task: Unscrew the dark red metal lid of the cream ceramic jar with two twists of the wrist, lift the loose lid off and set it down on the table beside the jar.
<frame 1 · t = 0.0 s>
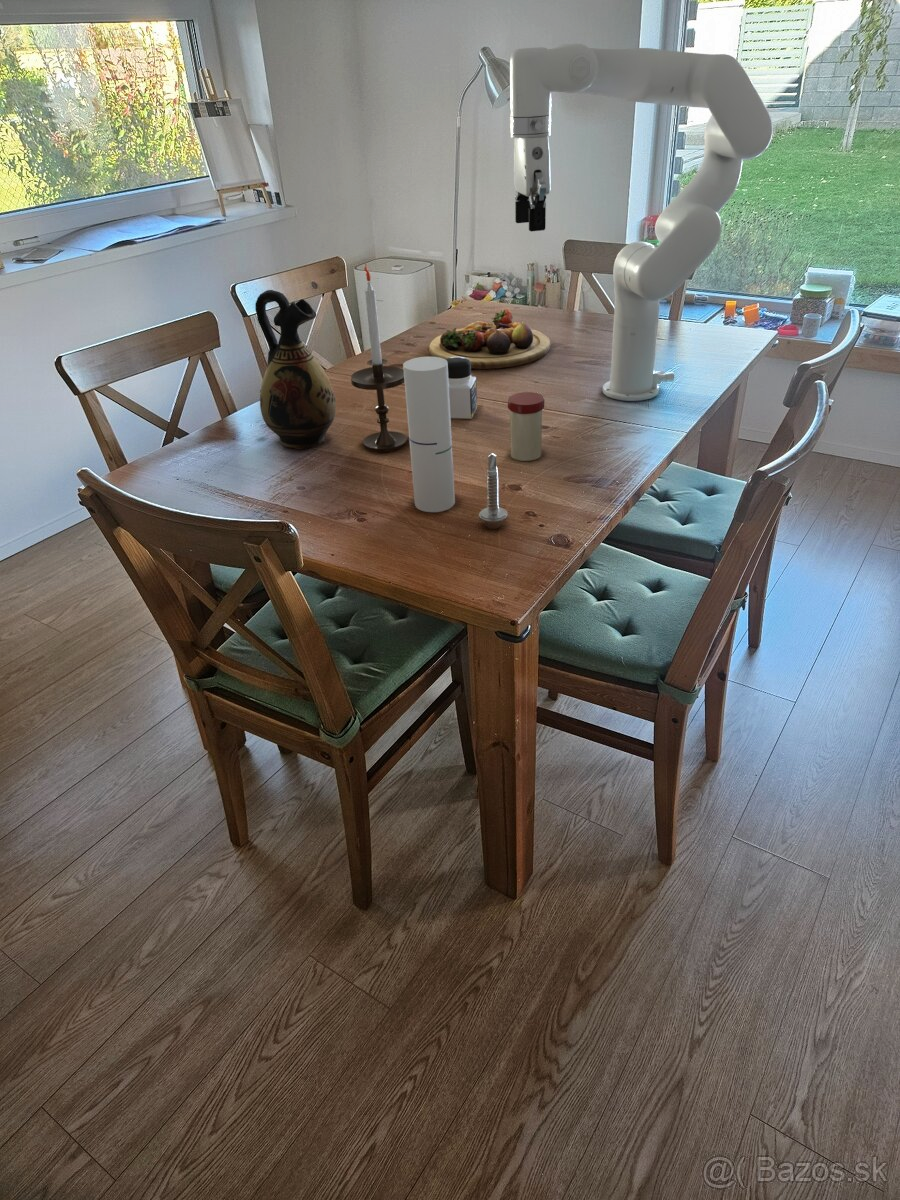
hand: (530, 226, 162), 37 cm above the table, tool pointing down, fingers open, 9 cm apart
candlestick: (385, 444, 168), on the table
jar: (525, 454, 160), on the table
wooden plate: (489, 351, 217), on the table
ceramic jug: (300, 440, 173), on the table
lid: (526, 400, 154), point 11 cm above the table, screwed on, not yet turned
screw: (493, 526, 137), on the table
medicine bottle: (458, 413, 181), on the table
cylindrical container: (434, 503, 145), on the table
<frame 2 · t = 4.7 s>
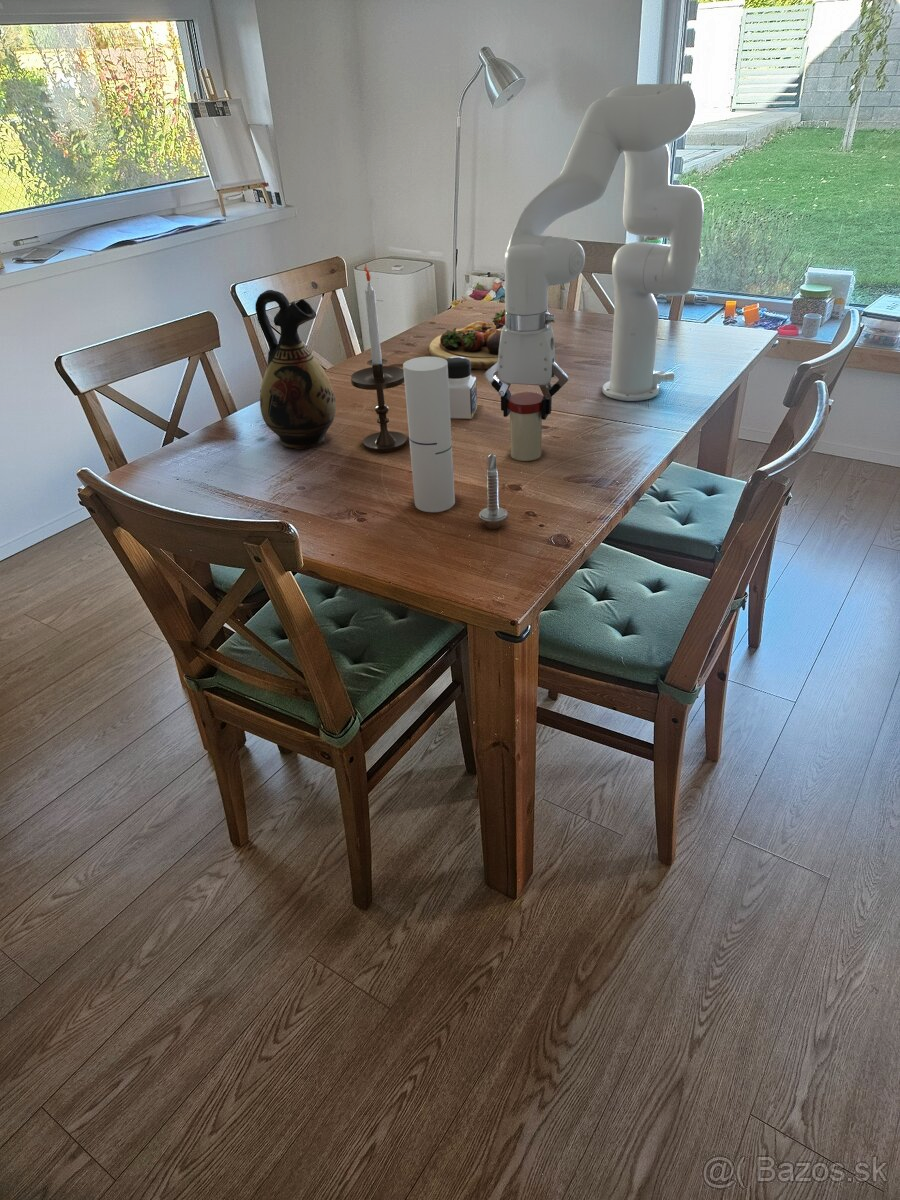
hand: (526, 415, 156), 8 cm above the table, tool pointing down, fingers closed on lid, 6 cm apart
lid: (526, 400, 154), point 11 cm above the table, screwed on, not yet turned, touching gripper
everything else where it was.
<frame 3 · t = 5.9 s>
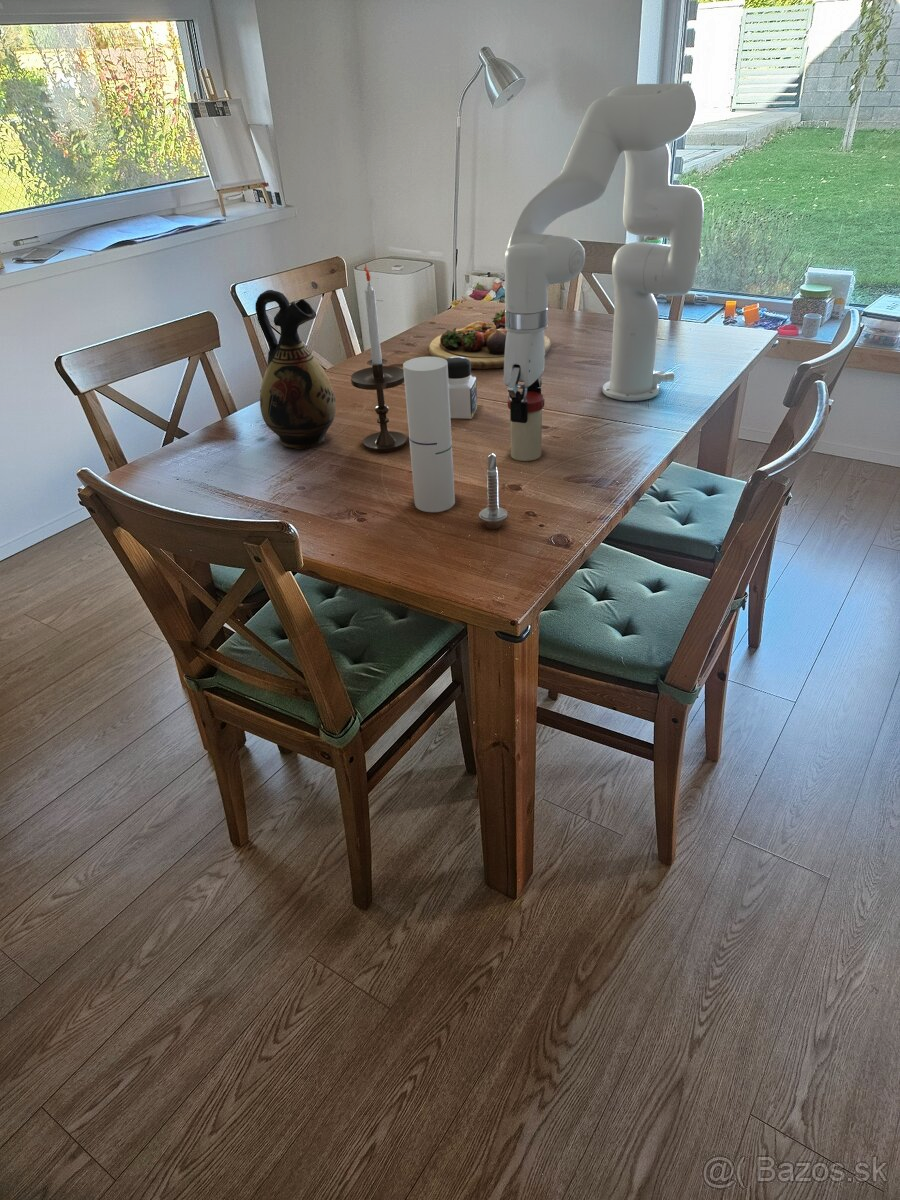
hand: (525, 414, 156), 8 cm above the table, tool pointing down, fingers closed on lid, 6 cm apart
lid: (526, 399, 154), point 11 cm above the table, turned 84° so far, risen 0.2 cm, still on its thread, touching gripper
everything else where it was.
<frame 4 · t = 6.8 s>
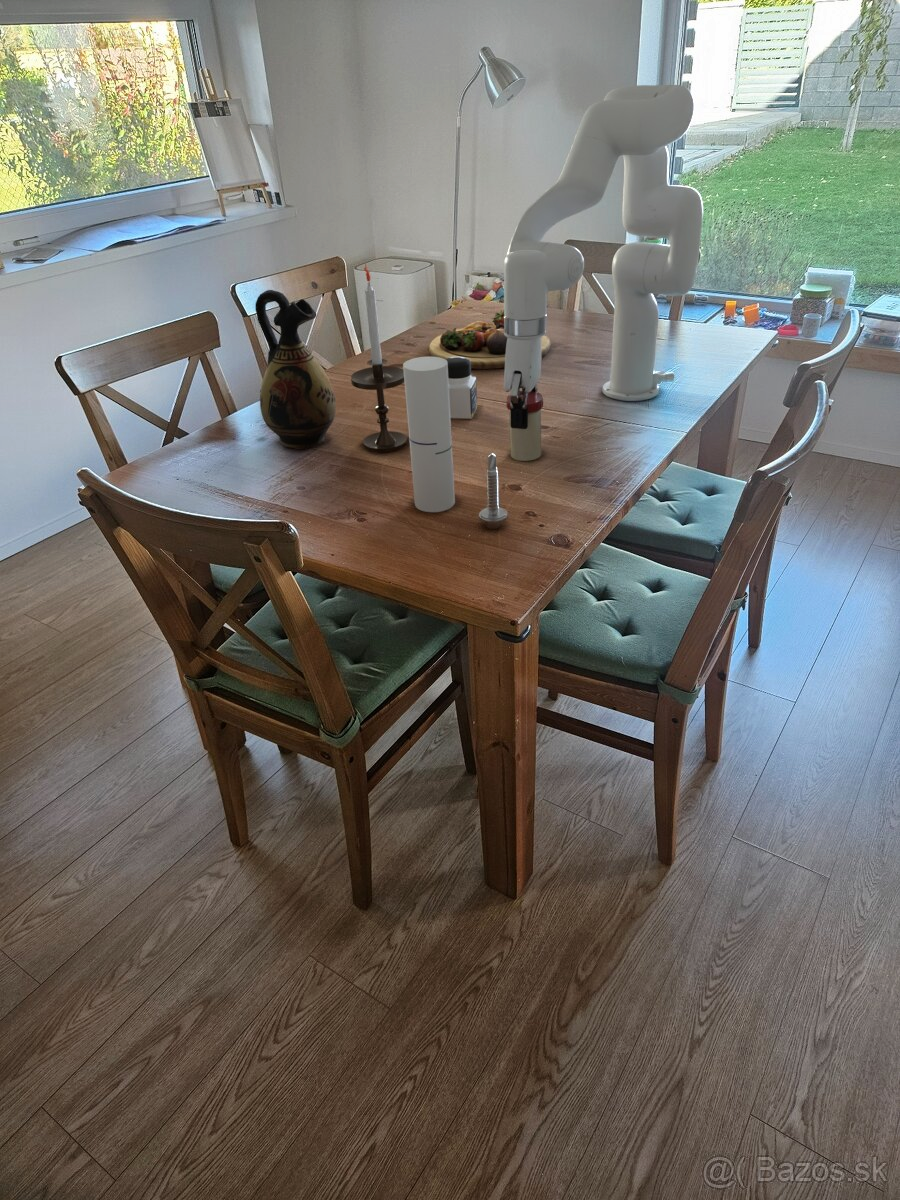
hand: (524, 420, 156), 7 cm above the table, tool pointing down, fingers closed on lid, 6 cm apart
jar: (525, 454, 160), on the table, touching gripper
lid: (524, 399, 154), point 11 cm above the table, turned 89° so far, risen 0.2 cm, still on its thread, touching gripper
everything else where it was.
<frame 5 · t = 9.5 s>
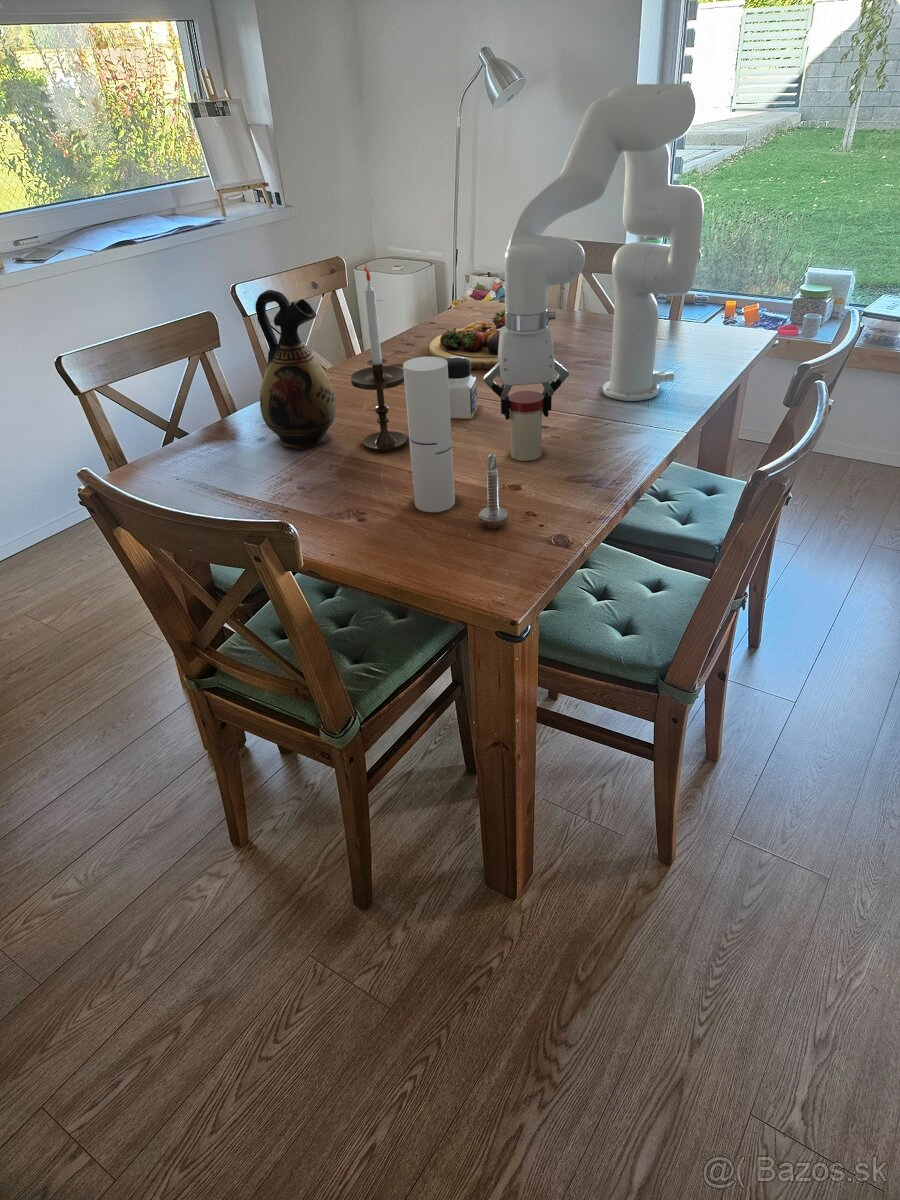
hand: (525, 415, 156), 8 cm above the table, tool pointing down, fingers closed on lid, 6 cm apart
jar: (525, 454, 160), on the table
lid: (526, 398, 154), point 11 cm above the table, off its thread, touching gripper
everything else where it was.
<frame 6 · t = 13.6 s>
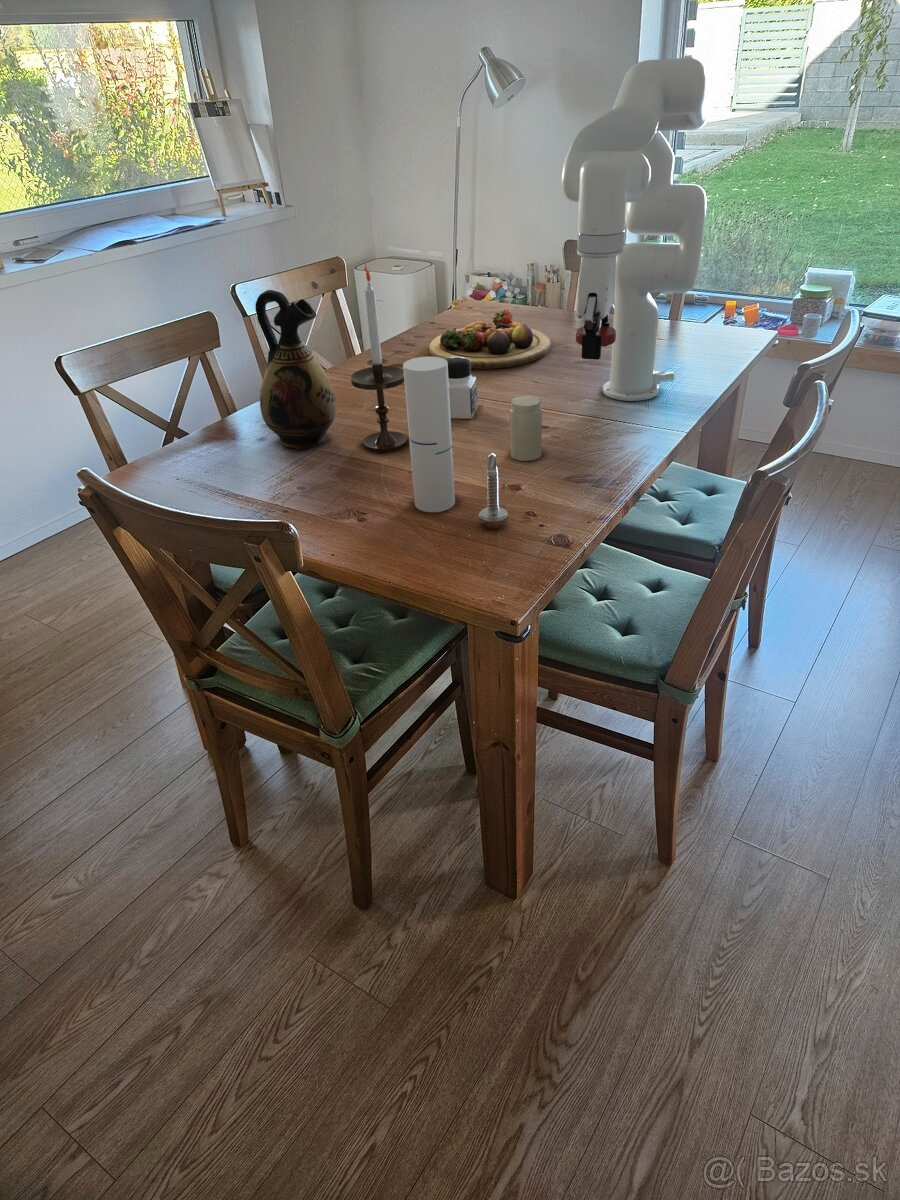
hand: (595, 351, 144), 21 cm above the table, tool pointing down, fingers closed on lid, 6 cm apart
lid: (595, 332, 142), point 25 cm above the table, off its thread, touching gripper
everything else where it was.
when the fingers open (0 cm above the table, at t = 18.6 s): lid drops 2 cm, point 1 cm above the table.
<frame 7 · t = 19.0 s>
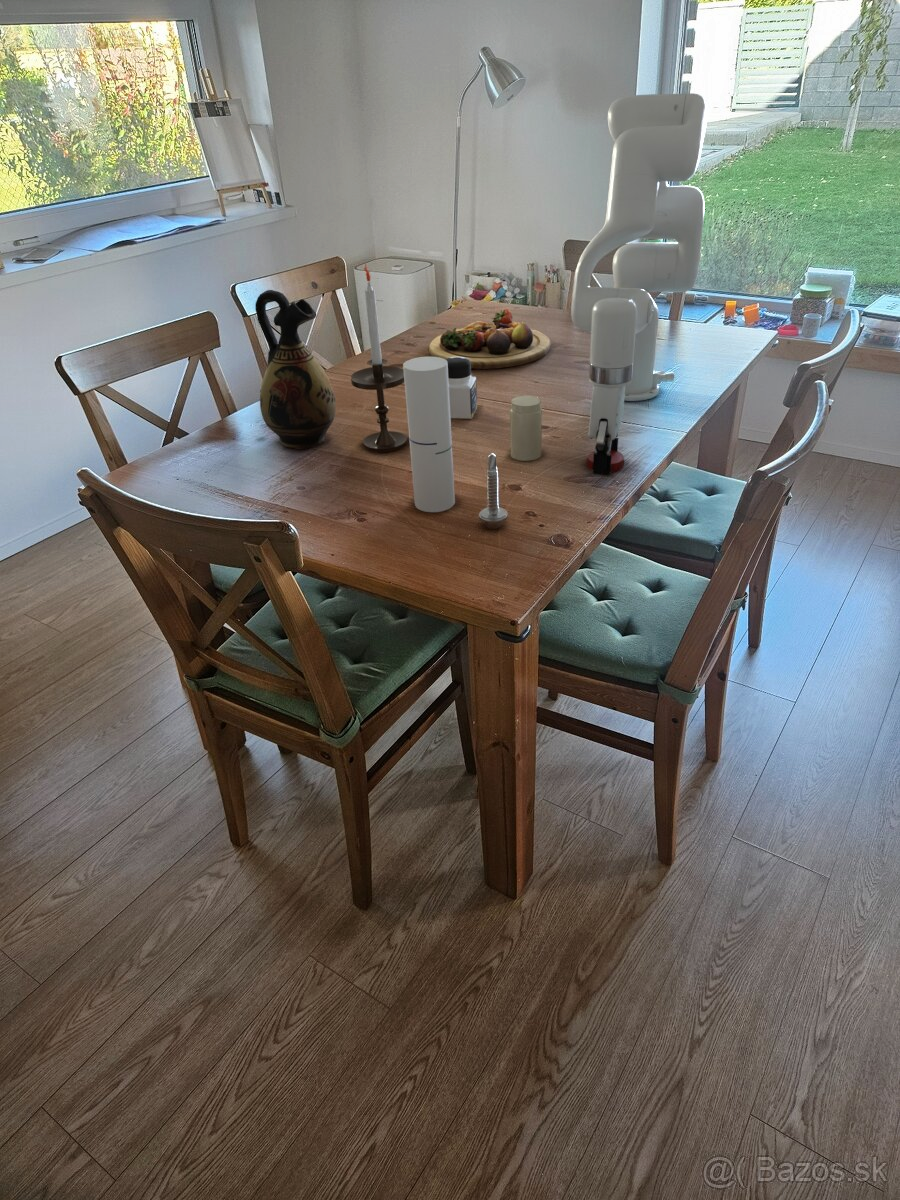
hand: (605, 464, 155), 0 cm above the table, tool pointing down, fingers open, 6 cm apart
lid: (605, 458, 154), point 1 cm above the table, off its thread
everything else where it was.
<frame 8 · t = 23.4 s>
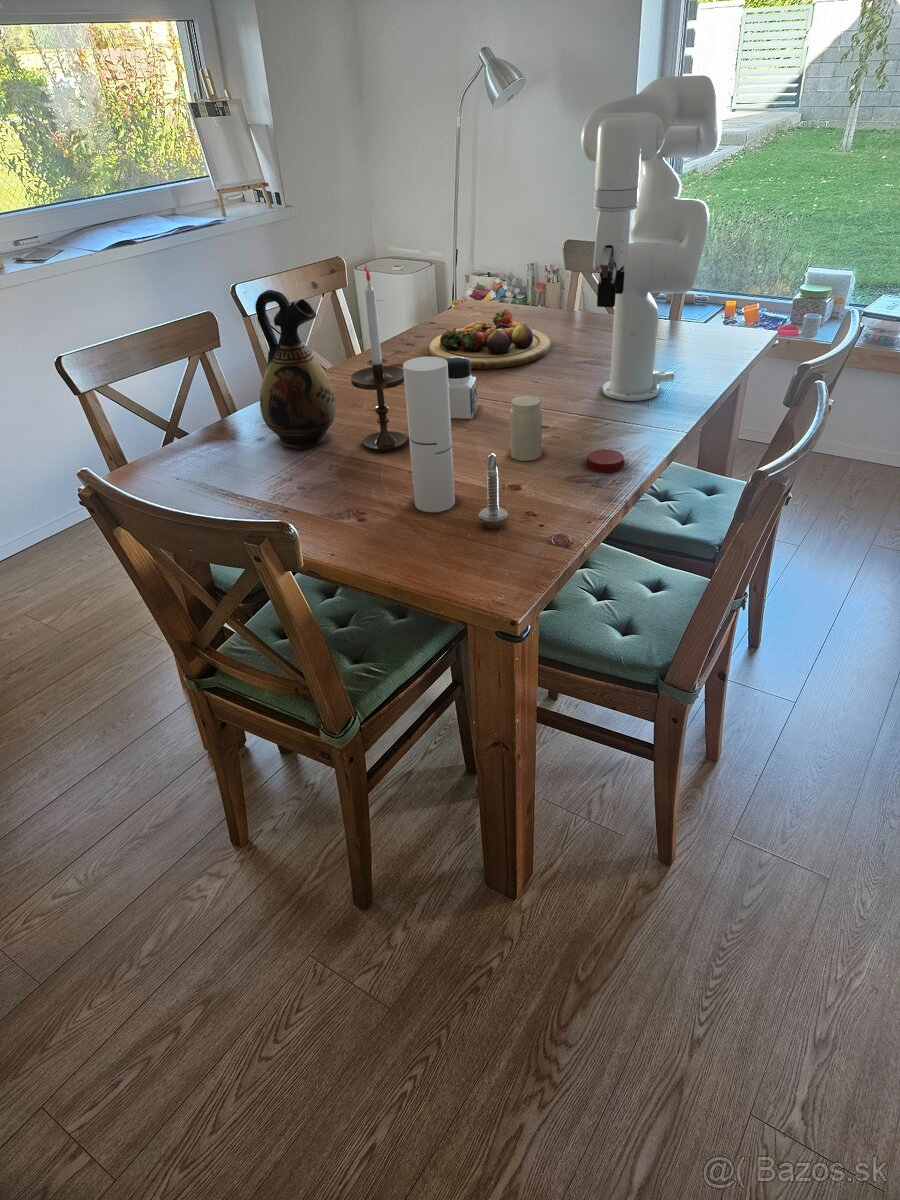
hand: (610, 299, 153), 26 cm above the table, tool pointing down, fingers open, 9 cm apart
nothing on the table moved.
at the end: lid came off its thread; lid point 1.4 cm above the table; the gripper is holding nothing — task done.
